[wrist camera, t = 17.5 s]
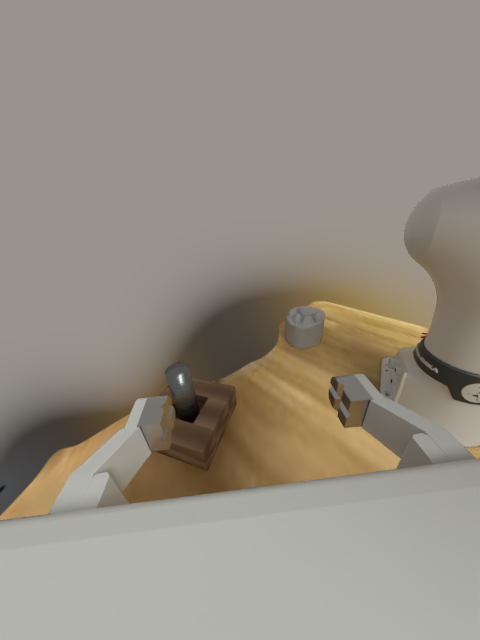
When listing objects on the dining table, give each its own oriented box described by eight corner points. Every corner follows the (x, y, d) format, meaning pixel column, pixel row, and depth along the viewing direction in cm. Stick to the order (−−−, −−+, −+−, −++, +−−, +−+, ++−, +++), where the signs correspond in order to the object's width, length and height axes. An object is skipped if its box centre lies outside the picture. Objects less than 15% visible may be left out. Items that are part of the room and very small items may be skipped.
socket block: (181, 390, 52) (177, 374, 49) (236, 403, 47) (234, 386, 45) (140, 445, 40) (131, 428, 38) (207, 470, 36) (202, 452, 34)
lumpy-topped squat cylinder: (324, 330, 70) (328, 305, 66) (315, 352, 61) (318, 326, 56) (293, 323, 75) (294, 301, 71) (279, 344, 65) (280, 318, 61)
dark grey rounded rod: (187, 409, 46) (174, 360, 39) (204, 413, 44) (193, 364, 38) (177, 426, 42) (160, 375, 36) (195, 431, 41) (180, 379, 35)
